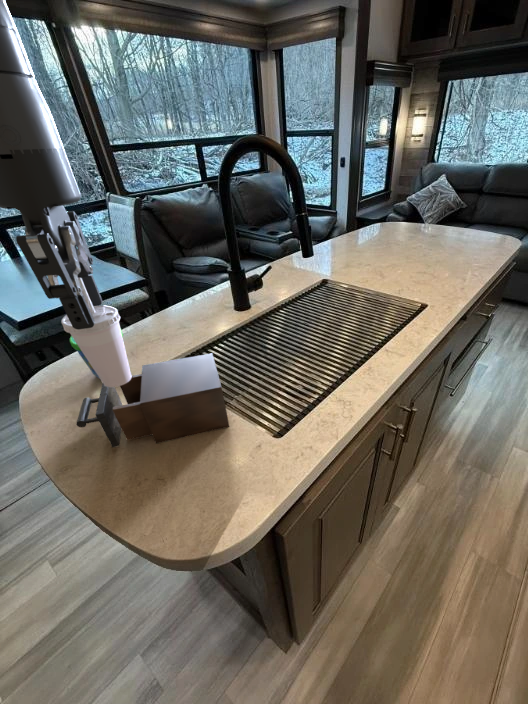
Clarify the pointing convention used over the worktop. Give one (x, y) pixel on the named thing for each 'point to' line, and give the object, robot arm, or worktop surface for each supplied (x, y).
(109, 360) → the smoothie
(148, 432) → the drawer
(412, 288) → the worktop surface
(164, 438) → the cabinet
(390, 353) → the worktop surface
